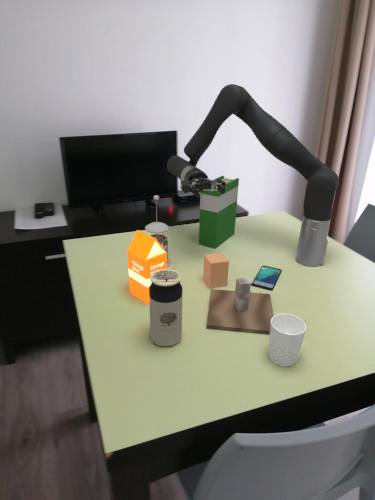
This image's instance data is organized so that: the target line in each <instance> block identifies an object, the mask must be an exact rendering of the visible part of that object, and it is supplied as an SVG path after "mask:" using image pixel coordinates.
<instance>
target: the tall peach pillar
mask: <svg viewBox="0 0 375 500" xmlns="http://www.w3.org/2000/svg"><path fill="white" fill-rule="evenodd" d="M229 265H230V260H229V259H228V258H227V257H226V256H225V255H224V253H223V252H217V253H209V254H204V256H203V277H202V278H203V279H202V280H203V281H204V283H205V284H206V286H207V287H208V289H217V288H223V287H228V278H229Z"/></svg>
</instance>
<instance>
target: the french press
mask: <svg viewBox="0 0 375 500" xmlns="http://www.w3.org/2000/svg"><path fill="white" fill-rule="evenodd" d="M153 200H155V209H156V211H155V217H156V218H155V219H156V221H153V222H151V223H149V224H147V225H145V227H144V229H145V231H147V232H148V233H150V234H149V235H150V236H152V237H154V238H156V240H157V241H158V243H159V244H160V245H161V246H162V248H163V249H164V250H165V252H167V268H169V267H171V265H172V261H171V260H170V259H169V241H168V237H169V235H168V230H169V227H170V226H169V225H167V224H166V223H163V222H161V221H158V210H157V209H158V206H157V205H158V204H157V203H158V202H157V200H160V196H159V195H157V194H156V195H153ZM165 232H166V235H165V234H164V233H165ZM151 233H152V234H151Z"/></svg>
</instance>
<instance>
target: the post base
mask: <svg viewBox="0 0 375 500" xmlns="http://www.w3.org/2000/svg"><path fill="white" fill-rule="evenodd" d="M251 284H252V282H251V281H250V280H249V279H248V278H247V277H242V278H236V280H235V287H234V288H235V290H227V289H217V288H211V290H210V295H209V296H210V297H209V304H208V312H207V318H206V319H207V321H206V329H208V330H209V329H210V330H218V331H227V332H228V331H229V332H236V333H237V332H239V333H249V334H256V335H257V334H259V335H269V334H270V324H271V319H272V317H273V316H274V309H273V303H272V297H271V296H272V295H271V293H263V292H262V293H261V292H253V291H251Z"/></svg>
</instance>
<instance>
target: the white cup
mask: <svg viewBox="0 0 375 500" xmlns="http://www.w3.org/2000/svg"><path fill="white" fill-rule="evenodd" d="M306 330H307V324H306V323H305V321H304V320H303V319H301V318H300V317H298V316H297V315H295V314H291V313H277V314H275V315H273V317H272V319H271V324H270V334H269V336H268V353H267V355H268V357H269V360H270V361H271V362H272V363H273V364H275V365H277V366H279V367H283V368H288V367H292V366H294V365H295V364H296V363H297V362H298V357H299V354H300V352H301V348H302V345H303V341H304V339H305V338H304V337H305V333H306Z"/></svg>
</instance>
